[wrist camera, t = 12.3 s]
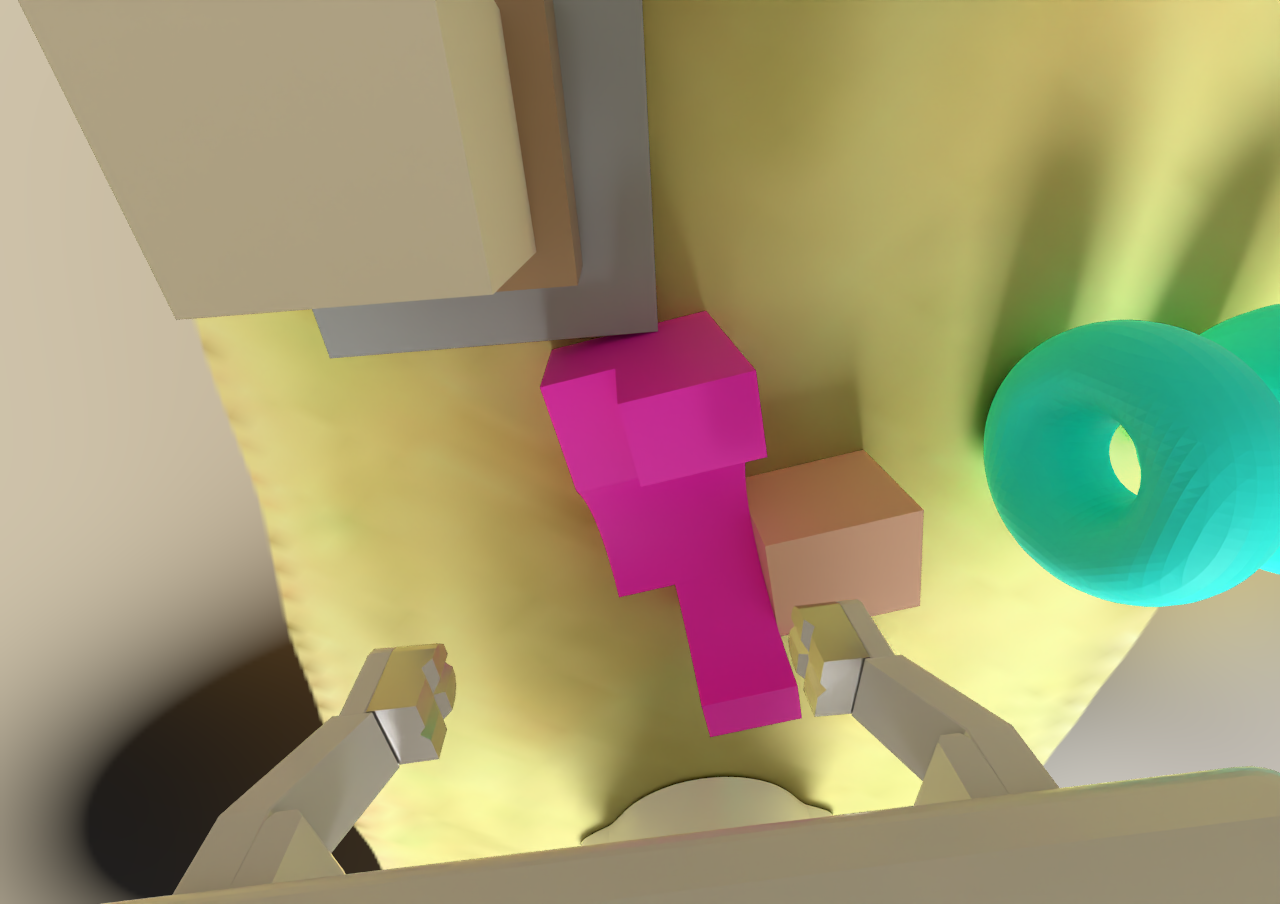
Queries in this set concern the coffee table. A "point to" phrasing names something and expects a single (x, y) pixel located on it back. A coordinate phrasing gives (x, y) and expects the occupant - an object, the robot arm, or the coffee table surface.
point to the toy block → (679, 497)
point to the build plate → (602, 213)
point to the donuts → (1144, 457)
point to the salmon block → (836, 536)
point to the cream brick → (301, 145)
